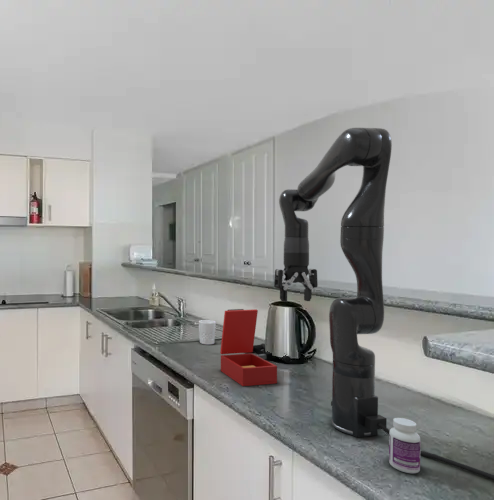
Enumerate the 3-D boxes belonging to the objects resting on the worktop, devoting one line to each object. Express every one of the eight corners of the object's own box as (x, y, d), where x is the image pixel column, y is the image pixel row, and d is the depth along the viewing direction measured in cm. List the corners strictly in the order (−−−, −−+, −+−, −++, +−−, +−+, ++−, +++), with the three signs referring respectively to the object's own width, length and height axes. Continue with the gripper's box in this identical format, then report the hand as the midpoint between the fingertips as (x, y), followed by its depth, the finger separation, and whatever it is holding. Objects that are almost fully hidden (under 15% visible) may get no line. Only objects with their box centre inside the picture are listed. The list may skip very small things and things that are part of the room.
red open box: (277, 383, 131) (277, 366, 131) (242, 386, 129) (242, 368, 129) (251, 368, 147) (251, 353, 147) (220, 370, 144) (220, 355, 144)
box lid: (257, 310, 142) (250, 305, 147) (226, 311, 140) (219, 306, 145) (252, 352, 146) (245, 346, 151) (221, 354, 143) (215, 347, 148)
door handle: (255, 359, 150) (293, 355, 152) (232, 345, 170) (266, 342, 172) (255, 368, 150) (294, 363, 152) (232, 353, 170) (267, 349, 172)
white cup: (205, 339, 190) (205, 319, 189) (219, 343, 183) (219, 321, 183) (194, 342, 184) (195, 321, 184) (208, 346, 178) (208, 324, 178)
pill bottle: (427, 474, 80) (427, 427, 80) (402, 475, 80) (402, 428, 80) (406, 459, 86) (407, 415, 85) (382, 460, 85) (383, 416, 85)
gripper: (283, 251, 122) (283, 303, 122) (323, 251, 125) (323, 302, 125) (269, 251, 129) (269, 300, 130) (307, 250, 132) (307, 298, 133)
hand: (295, 301), depth 128 cm, fingers open, 8 cm apart
